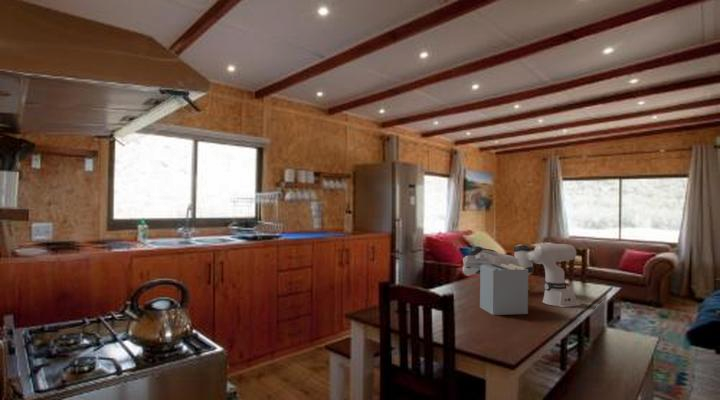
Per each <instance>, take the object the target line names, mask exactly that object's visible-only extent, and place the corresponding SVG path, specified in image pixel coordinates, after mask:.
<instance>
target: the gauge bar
mask: <svg viewBox="0 0 720 400" xmlns="http://www.w3.org/2000/svg"><path fill="white" fill-rule="evenodd" d="M480 254H482V258H483V259H486V260H489V261H492V262H495V263H500V257H497V256H493V255H490V254H486V253H480Z"/></svg>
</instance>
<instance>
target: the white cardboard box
mask: <svg viewBox="0 0 720 400" xmlns="http://www.w3.org/2000/svg"><path fill="white" fill-rule="evenodd" d="M479 279H480V280H479V287H480V288H479V308H480V309H482V310H484V311H485V312H486V313H489V314H491V315H492V316H501V315H502V316H503V315H504V316H505V315H528V314H529V274H528V269H526V268H523V267H520V266H517V265H513V264H509V265H504V264H501V265H494V264H492V263H491V264H490V265H486V264H483V265H480V274H479Z"/></svg>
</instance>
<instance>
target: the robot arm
mask: <svg viewBox="0 0 720 400" xmlns="http://www.w3.org/2000/svg"><path fill="white" fill-rule="evenodd" d="M512 249H513V253H514V254H513V255H514V256H513V255H510V254H501V253H499V252H498V251H496V250H494V249H490V248H485V247H482V246H478V245H477V246H473V247H471V248H470V249H469V251H468V255H465V256H464V257H463V258H462V263H463V266H462V272H463V274H464V275H465V276H468V277H470V276H472V275H474V274H476V275H480V265H483V264H486V265H491V264H494V265H501V264H504V265H509V264H513V265H517V266H520V267H523V268H526V269H528V275H530V274H533V272H534V269H535V268H534V266H533V265H534V264H538V265H543V267H544V273H545V274H544V276H545V280H544V293H543V299H542V301H541V302H542V303H543V304H546V305H549V306H556V307H561V308H568V307H577V306H578V307H579V306H581V303H580V302H579V301H577V297H576V295H575V293H574V292H572V291H571V290H570V289H568V288H570V287H571V283H568V282H567V283H566V282H565V270H564V268H562V267H561V266H558V265H557V262H558V263H559V262H567V261H572V260H575V258H576V257H577V250H576V248H575V247H574V246H573V245H571V244H567V243H540V244H537V245H536V246H535V248H534V250H532V248H531V247H529V246H528V245H527V244H518V245H515V246H514V247H513V248H512ZM480 253H486V254H490V255H493V256H497V257H500V263H495V262H492V261H489V260H486V259H483V258H482V254H480ZM533 263H534V264H533Z"/></svg>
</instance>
